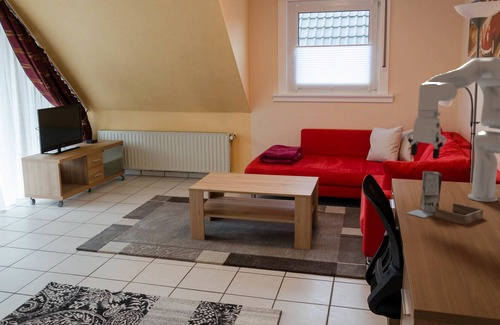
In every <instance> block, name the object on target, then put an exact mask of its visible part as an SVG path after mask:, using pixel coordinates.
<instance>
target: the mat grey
mask: <svg viewBox="0 0 500 325" xmlns="http://www.w3.org/2000/svg"><path fill="white" fill-rule="evenodd" d="M406 215H410V216H413V217H417V218H421V219H426V218H428V217H429V218H430V217H431V216H435V213H434V212H423V211H422V209H414V210H412V211H408V212H406Z"/></svg>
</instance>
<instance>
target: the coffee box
mask: <svg viewBox="0 0 500 325" xmlns="http://www.w3.org/2000/svg"><path fill="white" fill-rule="evenodd" d="M442 180H443V175H442V174H441V173H440V172H439V171H433V170H432V171H430V170H429V171H428V170H423V171H422V182H421V190H420V191H421V192H420V194H421V195H420V204H419V205H420V206H419V207H420V210H421V211H423V212H429V213H433V214H435V210H436V209H439V207H440V198H441V190H442V182H443V181H442Z"/></svg>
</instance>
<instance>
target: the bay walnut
mask: <svg viewBox="0 0 500 325" xmlns="http://www.w3.org/2000/svg"><path fill="white" fill-rule="evenodd" d="M434 214H435V215H434V218H437V219H441V220H444V221H448V222H452V223H455V224H461V225H463V226H466V225H468V224H471V223H473V222H475V221H478V220H481V219H483V217H484V209H482V208H477V207H472V206H468V205H463V204H459V203H455V202H453V203H452V211H447V210H443V209H436V210H435V213H434Z"/></svg>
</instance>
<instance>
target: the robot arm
mask: <svg viewBox="0 0 500 325" xmlns="http://www.w3.org/2000/svg"><path fill="white" fill-rule="evenodd" d="M475 82H476V84H477V85H478V87H479V88H480V90H481V93H482V95H483V100H482V106H481V107H482V110H481V115H480V125H481V126H482V127H484V128H487V129H494V130H500V58H499V57H475V58H473V59H471V60H469V61H468V62H466V63H463V65H461V66H460V67H458V68H456V69H453V70H450V71H448V72H444V73H441V74H437V75H435V76H433V77H431V78H429V79H428V80H427V81H425V82H424V83H421V84H420V86H419V90H418V105H417V117H415V121H414V125H413V129H412V131H411V132H409V133H406V139H407V142H408V143H409V145H410V146H411V148H410V156H416V155H418V143H423V144H432V145H433V147H434V148H433V149H432V159H433V160H436V159H439V157H440V150H441V149H442V147H443V146H444V145H445V143H446V142H447V140H448V139H447V137H445V136H444V135H442V134H441V131H442V130H441V129H442V128H441V120H440V118H439V117H440V116H441V112H440V111H439V102H450V101H453V100H454V99H455V98H456V97H457V95H458V90H461V89H464V88H467V87H469V86H470V85H473V83H475ZM473 146H474V147H473V148H474V165H473V166H474V167H473V176H472V185H471V186H472V187H471V193H468V194H467V198H468V199H469V200H473V201H477V202H482V203H483V202H484V203H485V202H487V203H491V202H492V203H494V202H498V199H499V198H498V197H497V196H496V195H495V193H497V192H498V189H497V188H496V181H497V173H498V159H497V157H496V155H495V154H498V155H500V131H492V130H483V131H479V132H477V133H476V134H475V135H474V138H473Z"/></svg>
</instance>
